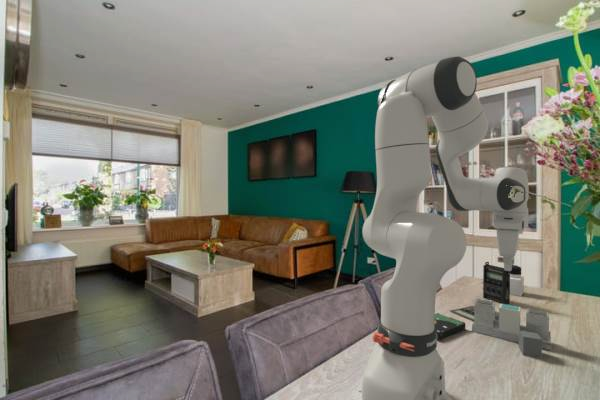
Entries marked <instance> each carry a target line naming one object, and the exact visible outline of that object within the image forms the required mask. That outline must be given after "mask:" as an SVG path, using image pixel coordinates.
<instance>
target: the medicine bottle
mask: <svg viewBox="0 0 600 400" xmlns="http://www.w3.org/2000/svg"><path fill="white" fill-rule="evenodd" d="M524 279H525V277H524V276H522V267H521V266H519V265H515V264H513V265H512V270H511V271H510V296H511V295H512V296H517V297H522V295H523V294H524V289H525V286H524V283H525V280H524Z"/></svg>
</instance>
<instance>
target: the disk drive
mask: <svg viewBox="0 0 600 400" xmlns="http://www.w3.org/2000/svg"><path fill="white" fill-rule="evenodd" d="M434 326H435V328H436V332H437V342H439V341H442V340H444V339H446V338H449V337H451V336H453V335H456V334H458V333H461V332H463V331H466V322H464V321H461V320H458V319H456V318H454V317H452V316H451V317H449V316H446V315H443V314H440V313H439V312H437V313H435V319H434Z"/></svg>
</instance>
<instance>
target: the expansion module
mask: <svg viewBox="0 0 600 400" xmlns="http://www.w3.org/2000/svg"><path fill="white" fill-rule="evenodd" d="M521 309H522V308H521V307H520V306H515V305H512V304H508V305H506V304H500V303H499V306H498V312H499V319H498V320H499V331H503V332H508V333H512V334H516V335H519V331H520V325H521V312H522V311H521Z"/></svg>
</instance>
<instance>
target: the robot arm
mask: <svg viewBox="0 0 600 400" xmlns="http://www.w3.org/2000/svg"><path fill="white" fill-rule="evenodd" d="M477 80H478V79H477V75H476V71H475V68H474V66H473V64H472V63H471V62H470V61H469V60H467V59H466V58H464V57H461V56H451V57H446V58H442V59H440V60H439V61H438V62H435V63H431V64H428V65H425V66H423V67H420V68H416V69H413V70H411V71H409V72H407V73H405V74H403V75H402V76H399V77H398V78H397V79H393V80H392V79H391V81H390V82H388V83H387V84H385V85H384V86H383V87H382V88H381V89H380V91H379V93H378V97H377V108H378V109H377V112H376V118H375V126H374V129H375V131H374V146H375V147H374V149H375V164H376V192H375V197H374V202H373V207H372V209H371V212H370V214H369V215H368V217H367V218H366V219H365V220H364V223H363V225H362V231H361V233H362V238H363V241H364V242H365V244H366V245H367V246H368V247H369V248H370V249H372V250H373V251H374V252H376V253H377V254H379V255H382V256H385V257H387V258H391V259H394V260H395V261H396V262H395V263H396V265H395V268H394V273H393V275H392V278H390V279H388V280H386V281H385V282H384V284H382V287H381V289H380V320H379V321H378V326H377V329H376V330H377V331H374V333H373V336H372V341H373V343H375V344H374V347H373V349H372V351H371V354H370V356H369V360H368V362H367V365H366V367H365V370H364V373H363V376H362V378H361V380H360V382H359V383H358V386H357V388H356V389H355V392H354V393H353V396H352V398H351V399H350V400H454V399H453V398H452V396H451V395H449V394H448V393H447V392H446V372H445V361H444V359H443V358H442V357H441V355H440V354H439V352H438V350H437V345H438V341H437V332H436V328H435V326H434V319H435V312H436V297H437V290H438V288H439V284H440V282H441V281H442V278H443V277H444V276H445V274H447V272H448V271H450V270H451V269H452V268H454V267H457V265H458V264H459V263H460V262H461V261H462V259H464V257H465V254H466V251H467V246H468V244H467V243H468V242H467V237H466V236H467V234H466V233H465V231H464V229H463V226H462V225H461V224H460V223H458V221H456V220H454V219H452V218H449V217H446V216H443V215H440V214H436V213H434V212H432V213H430V212H420V211H419V212H417V204H418V201H419V197H420V196H421V194H422V192H423V191H424V190H426V189H427V188H428V187H429V186H430V184H431V182H432V181H431V180H432V165H431V150H430V136H429V129H428V124H427V119H429V118H431V120H432V121H433V124H434V126H435V128H436V130H437V133H438V135H439V139H438V141H437V142H436V145H435V153H436V158H437V161H438V166H439V168H440V171H441V175H442V177H443V181H444V183H445V186H446V187H445V188H446V192H447V199H448V202H449V204H450V205H451V207H453V208H454V209H455V210H456V211H459V212H466V211H468V212H469V211H480V212H481V211H482V212H484V211H486V212H492V219H491V220H492V223H491V225H492V227H493V228H494V229H495V230H496V240H497V250H498V254H499V256H500V257H503V258H502V259H503V268H504V270H505V271H511V270H512V265H515V257H516V253H517V252H518V249H519V243H520V237H519V236H520V235H523V233H524V229H529V208H528V200H529V196H530V195H529V194H528V193H530V191H529V189H530V188H529V178H528V173H527V170H525V169H524V168H523V167H520V166H501V167H498V168H496V170H495V172H494V175H492V176H491V177H479V178H478V177H477V178H471V177H468V176H467V177H466V176H465V175H464V173H463V169H462V166H461V162H460V158H459V157H461V156H463V155H465V154H466V153H469V152H470V151H472V150H474V149H475V148H476V147H478V145H480V144H481V143H482V141H484V139H485V138H486V135H488V130H489V121H488V117H487V115H486V112H485V110H484V108H483V105H482V103H481V100H480V99H479V97H478V95H477V94H476V90H477V85H478V84H477ZM506 185H507V186H506ZM510 186H513V187H515V188H517V189H519V190H521V191H524V192H528V193H521V192H517V193H516V194H515V197H511V198H508V194H509V193H510V192H514V190H513V188H512V187H510ZM523 196H524V197H523Z"/></svg>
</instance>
